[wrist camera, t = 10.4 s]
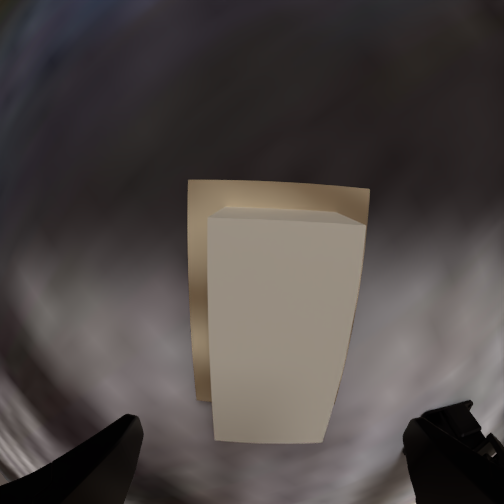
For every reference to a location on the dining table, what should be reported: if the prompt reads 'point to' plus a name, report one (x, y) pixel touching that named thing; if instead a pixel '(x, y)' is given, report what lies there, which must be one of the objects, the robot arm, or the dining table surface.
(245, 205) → the base
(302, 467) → the dining table surface
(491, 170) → the dining table surface
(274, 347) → the block
